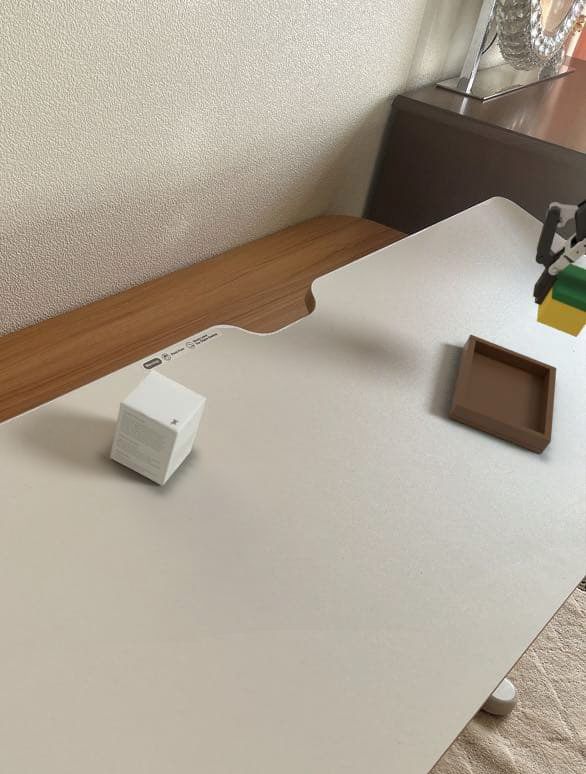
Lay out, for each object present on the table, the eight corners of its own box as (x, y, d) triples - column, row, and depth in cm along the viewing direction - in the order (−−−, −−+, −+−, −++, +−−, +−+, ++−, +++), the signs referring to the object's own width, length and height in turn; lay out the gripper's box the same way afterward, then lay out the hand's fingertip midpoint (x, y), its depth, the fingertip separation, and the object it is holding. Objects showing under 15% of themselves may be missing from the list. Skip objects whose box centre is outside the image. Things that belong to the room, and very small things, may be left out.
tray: (462, 347, 110) (470, 334, 108) (547, 380, 109) (556, 367, 107) (448, 417, 100) (456, 404, 98) (541, 454, 99) (551, 441, 98)
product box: (191, 452, 88) (209, 397, 82) (162, 488, 84) (178, 433, 78) (138, 424, 89) (152, 367, 83) (107, 457, 85) (119, 401, 79)
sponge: (540, 289, 100) (559, 258, 97) (578, 304, 100) (598, 274, 97) (536, 321, 95) (556, 290, 92) (576, 337, 95) (598, 307, 92)
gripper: (725, 174, 86) (621, 316, 99) (586, 121, 87) (501, 268, 100) (731, 207, 81) (621, 352, 94) (585, 151, 82) (495, 302, 95)
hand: (560, 308), depth 97 cm, fingers closed on sponge, 4 cm apart
